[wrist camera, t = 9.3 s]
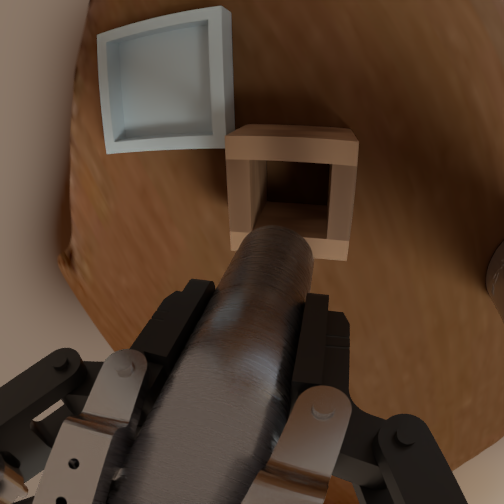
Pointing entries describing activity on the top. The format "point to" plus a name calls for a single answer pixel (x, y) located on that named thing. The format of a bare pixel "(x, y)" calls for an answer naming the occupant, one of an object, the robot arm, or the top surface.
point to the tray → (168, 82)
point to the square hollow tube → (292, 214)
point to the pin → (226, 382)
